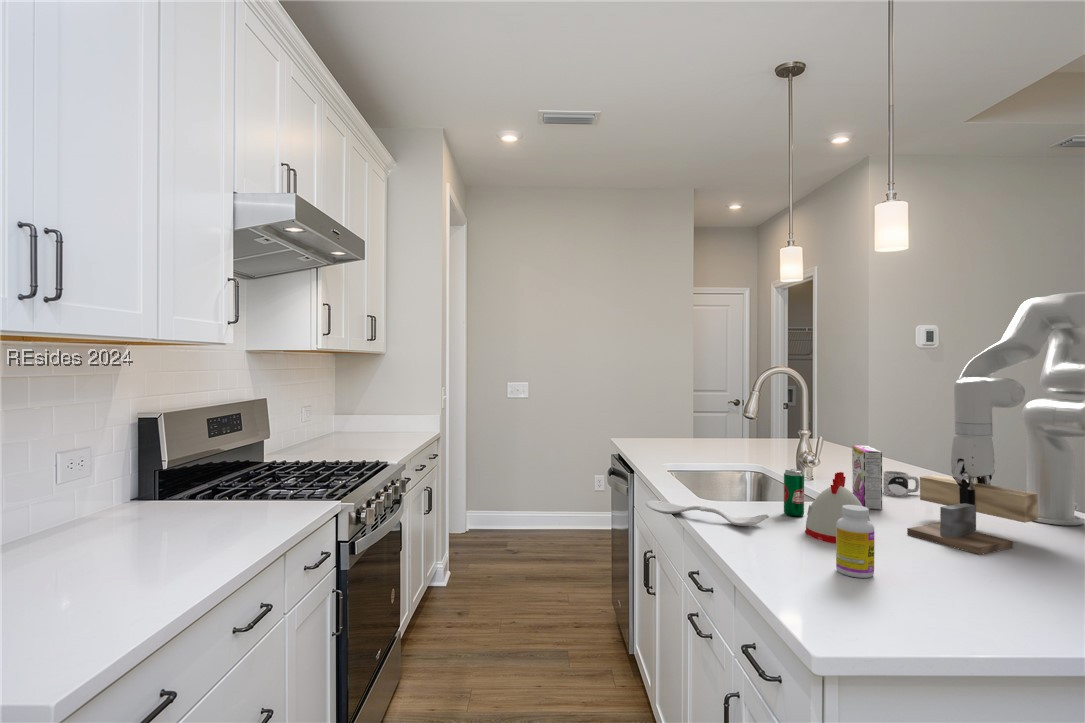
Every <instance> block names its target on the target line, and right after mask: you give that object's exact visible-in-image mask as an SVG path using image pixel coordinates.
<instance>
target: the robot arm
mask: <svg viewBox="0 0 1085 723" xmlns="http://www.w3.org/2000/svg"><path fill="white" fill-rule="evenodd" d="M1082 328H1085V291H1077V292H1076V291H1075V292H1074V291H1073V292H1065V293H1063V292H1062V293H1057V294H1051V295H1047V296H1039V297H1038V296H1037V297H1032V298H1030V299H1027V300H1025V301H1023V302H1022V303H1021V304H1020V306H1019V307H1018V309H1017V311H1016V312H1015V314H1014V317H1012V319H1011V321H1010V323H1009V325H1008V327H1007V328H1006V329H1005V332H1004V333H1003V335H1002V337H1001V339H1000V340H999V341H997V342H996V343H994V344H992V345H990V346H989V347H988V348H985V350H983V351H982V352H980V353H979V354H977V355H976V356H974V357H972V359H971V360H969V361H968V363H967V364H966V365H965V367H964V368H963V370H962V372H961V374H960V375H959V376H958V378H957V380H956V382H954V384H953V385H954V386H953V399H954V400H953V401H954V402H953V403H954V404H953V407H954V436H953V438H952V446H951V456H950V457H951V458H950V473H951V474H952V479H954V480H955V481H956V482H957V484H958V488H959V491H960V504H963V503H967V504H971V505H975V490H972V489H973V483H974V481H975V483H981V484H986V485H992V484H991V480H992V478H993V476H994V474H995V472H996V470H995V464H996V463H995V462H996V461H995V449H994V442H993V441H994V440H993V437H994V435H993V434H994V433H993V432H994V431H993V430H994V429H993V408H994V409H995V408H996V409H1012V408H1014V407H1017V406H1019V405H1020V404H1021V403H1022V402H1024V399H1025V398H1026V397H1025V396H1026V390H1025V387H1024V385H1023V384H1022V383H1021V382H1019V381H1018V380H1016V379H1015V378H1010V377H993V376H992V375H993V374H995V373H997V372H999V371H1002V370H1004V369H1007V368H1011V367H1013V366H1017V365H1020V364H1023V363H1026V362H1029V361H1031V360H1033V359H1035V358H1037V357H1038V356H1039V355H1040V354H1041V351H1042V350H1043V347H1044V346H1045V344H1046V342H1047V340H1048V347H1047V352H1046V356H1045V358H1044V362H1043V366H1042V370H1041V372H1040V373H1041V374H1040V377H1039V387H1040V390H1041V391H1042V392H1044V393H1046V394H1048V395H1052V396H1057V397H1058V396H1059V397H1066V398H1068V397H1069V398H1070V397H1071V398H1072V397H1073V398H1084V399H1083V400H1080V399H1079V400H1078V399H1066V398H1047V397H1046V398H1045V397H1044V398H1043V397H1041V398H1035V399H1033V400H1030V401H1028V402H1027V403H1025V405H1024V406H1023V407H1022V408H1023V409H1022V411H1021V412H1022V413H1021V418H1022V424H1023V428H1024V431H1025V437H1026V438H1025V439H1026V492H1032V493H1037V494H1038V520H1035V521H1034V522H1036V523H1042V524H1049V525H1056V526H1057V525H1058V526H1069V527H1070V526H1080V525H1083V518H1081V517H1080V516H1078V515H1075V511H1078V510H1080V508H1081V506H1080V504H1079V503H1077V502H1076V501H1075V499H1076V498H1075V495H1076V493H1075V489H1076V488H1075V485H1076V482H1075V481H1076V480H1075V479H1076V478H1075V476H1076V474H1075V470H1076V468H1075V467H1076V465H1075V464H1076V456H1075V451H1074V449H1073V446H1072V445H1071V444H1070V442H1069V441H1068V440H1067V438H1072V439H1073V438H1075V439H1084V440H1085V334H1084V332H1083V331H1082V330H1081V329H1082ZM990 376H991V377H990ZM967 481H968V482H967Z"/></svg>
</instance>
